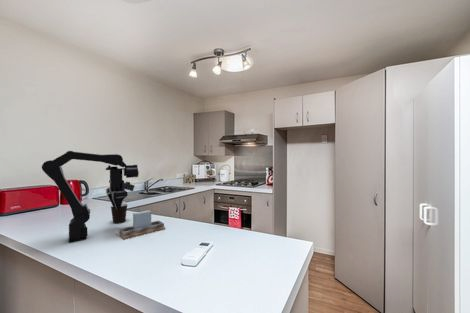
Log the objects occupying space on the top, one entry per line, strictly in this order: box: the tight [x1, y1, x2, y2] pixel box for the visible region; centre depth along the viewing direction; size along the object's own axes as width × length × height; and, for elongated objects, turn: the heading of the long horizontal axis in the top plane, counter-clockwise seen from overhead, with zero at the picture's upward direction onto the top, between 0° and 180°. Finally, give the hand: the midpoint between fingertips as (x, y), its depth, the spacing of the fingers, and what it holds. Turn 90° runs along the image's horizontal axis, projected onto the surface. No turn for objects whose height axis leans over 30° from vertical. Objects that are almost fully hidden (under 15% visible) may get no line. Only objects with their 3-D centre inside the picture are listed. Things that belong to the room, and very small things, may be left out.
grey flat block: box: [132, 209, 152, 230], centre depth 106 cm, size 8×3×9 cm, turn 132°
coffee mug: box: [110, 202, 128, 225], centre depth 124 cm, size 12×9×10 cm
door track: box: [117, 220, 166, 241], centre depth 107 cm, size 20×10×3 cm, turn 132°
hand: (116, 208), depth 107 cm, fingers open, 9 cm apart
